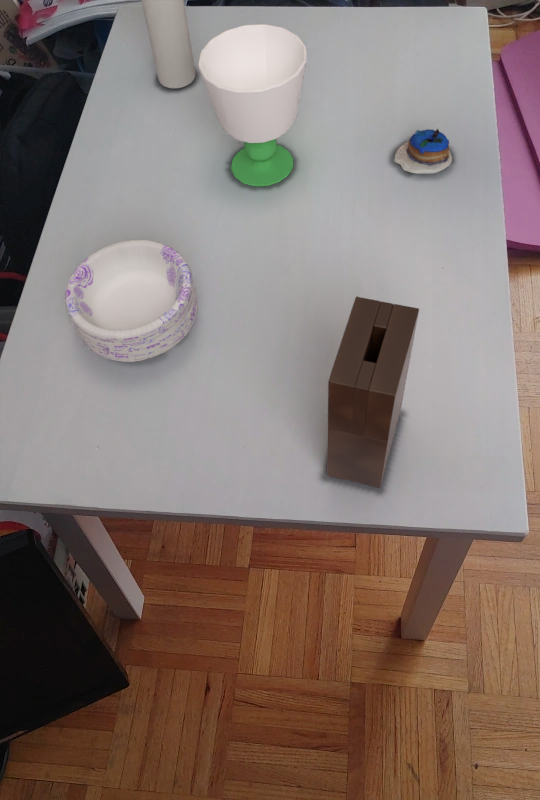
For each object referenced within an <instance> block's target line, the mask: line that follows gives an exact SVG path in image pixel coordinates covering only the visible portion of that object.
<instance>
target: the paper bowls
mask: <svg viewBox="0 0 540 800" xmlns="http://www.w3.org/2000/svg"><path fill="white" fill-rule="evenodd" d="M64 294H65V295H64V296H65V297H64V303H65V308H66V312H67V315H68V316H69V318H70V319H71V322H72V324H73V326H74V328H75V329H76V331H77V334H78V336H79V337H80V339H81V340H82V343H84V345H85V346H86V347H87V348H88V349H89V350H90V351H92V353H94V354H95V355H98V356H100V357H103V358H104V359H107V360H112V361H116V362H120V363H121V362H123V363H134V362H140V361H145V360H149V359H151V358H155V357H157V356H160V355H162V354H164V353H166V352H168V351H170V350H171V349H172V348H174V347H175V346H176V345H177V344H178V343H180V342H181V341H182V340H183V339H185V337H186V336H187V335H188V334H189V332H190V331H191V329H192V328H193V326H194V324H195V322H196V318H197V315H198V309H199V302H198V295H197V291H196V286H195V283H194V278H193V274H192V271H191V267H190V266H189V264H188V263H187V261H186V260H185V258H184V257H183V256H182V255H181V254H180V253H179V252H178V251H176V250H175V249H174V248H172V247H170V246H169V245H166V244H164V243H162V242H158V241H154V240H148V239H129V240H123V241H119V242H115V243H112V244H109V245H106V246H104V247H103V248H102V247H101V248H100V249H99V250H97V251H94V252H93V253H91V254H90V255H89V256H88V257H86V258H85V259H84V260H82V262H80V264H78V266H77V267H76V268H75V270H74V271H73V273H72V274H71V275H70V278H69V280H68V282H67V284H66V289H65V293H64Z"/></svg>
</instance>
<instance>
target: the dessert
mask: <svg viewBox="0 0 540 800" xmlns="http://www.w3.org/2000/svg"><path fill="white" fill-rule="evenodd" d="M450 149H451V147H450V141H449V139H448V137H447V136H446V135H445V133H443V132H442V131H440V130H439V128H437V129H436V130H435V129H422V130H419V129H417V130H416V131H415V133H413V134H412V135H411V136H410V137H409V140H408V141H406V142H404V143H403V144H402V145H400V146H399V147H398V148H397V150H396V151H395V154H394V158H393V160H394V163H396V164H398V165H400V166H401V168H402V170H403V171H405V172H407V173H411V174H416V175H418V174H419V175H420V174H421V175H422V174H428V175H429V174H435V173H439V172H441V171H444V170H445V169H446V168H448V167H449V166H450V165H452V161H453V157H452V154H451V152H450Z"/></svg>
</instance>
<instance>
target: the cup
mask: <svg viewBox="0 0 540 800" xmlns="http://www.w3.org/2000/svg"><path fill="white" fill-rule="evenodd" d="M307 53H308V49H307V47H306V45H305V44H304V42H303V41H302V39H301V38H300V36H299V35H297V34H295V33H293V32H292V31H290V30H288V29H287V28H285V27H280V26H277V25H271V24H267V23H263V24H262V23H261V24H260V23H259V24H244V25H241V26H237V27H233V28H230V29H226V30H224V31H222V32H221V33H220V34H218V35H216V36H214V37H213V38H211V39H209V41H208V42H207V43H206V45H205V46H204V47H203V48H202V50H201V51H200V53H199V57H198V69H199V72H200V75H201V78H202V81H203V84H204V86H205V88H206V91H207V93H208V96H209V99H210V101H211V104H212V107H213V110H214V113H215V115H216V118H217V119H218V122H219V125H220V126H221V128H222V130H223V131H225V133H226V134H227V135H229V136H231V138H233V139H234V140H236V141H240V142H243V143H244V144H243V148H242V149H240V150H239V151H238V152H236V154H235V155H234V157H233V158H232V160H231V167H230V170H231V172H232V174H233V176H234V178H235V179H237V180H238V181H239V182H240V183H242V184H244V185H248V186H251V187H269V186H271V185H275V184H279V183H280V182H281V181H283V180H284V179H286V178H287V177H288V176H289V175H290V173H291V172H292V170H293V169H294V158H293V156H292V154H291V152H290V151H289V150H288V149H286V148H285V147H283V146H281V145H280V144H277V139H278V138H280V137H281V136H283V135H284V134H286V133H287V132H288V131H289V129H290V128H291V126H292V124H294V121H296V119H297V116H298V111H299V106H300V99H301V95H302V89H303V83H304V79H305V78H304V77H305V72H306V67H307Z"/></svg>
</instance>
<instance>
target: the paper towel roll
mask: <svg viewBox="0 0 540 800" xmlns="http://www.w3.org/2000/svg"><path fill="white" fill-rule="evenodd" d="M140 1H141V5H142V9H143V15H144V19H145V23H146V29H147V34H148V38H149V42H150V47H151V51H152V56H153V61H154V65H155V70H156V74H157V79H158V82H159V83H160V84H161V85H162V86H163V87H164V88H168V89H181V88H184V87H186V86H189V85H191V84H192V82H194V80H195V78H196V74H197V72H196V67H195V61H194V55H193V48H192V43H191V37H190V30H189V24H188V18H187V12H186V7H185V0H140Z"/></svg>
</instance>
